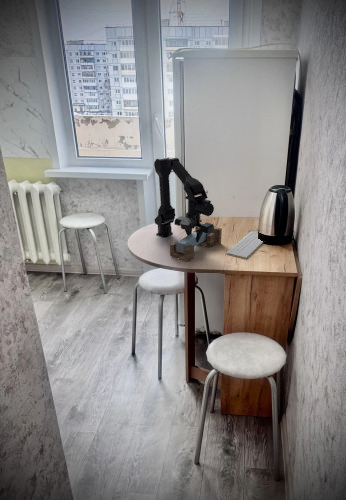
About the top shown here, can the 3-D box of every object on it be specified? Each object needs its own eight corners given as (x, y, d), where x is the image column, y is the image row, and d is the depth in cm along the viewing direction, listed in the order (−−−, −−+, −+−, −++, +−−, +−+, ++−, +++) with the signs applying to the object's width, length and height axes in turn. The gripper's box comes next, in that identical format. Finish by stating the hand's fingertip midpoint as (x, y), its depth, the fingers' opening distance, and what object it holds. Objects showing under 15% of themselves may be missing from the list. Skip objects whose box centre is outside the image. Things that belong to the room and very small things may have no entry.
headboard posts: (166, 254, 180) (166, 239, 176) (197, 237, 199) (197, 222, 195) (191, 263, 172) (191, 246, 169) (221, 243, 191) (221, 228, 188)
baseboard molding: (222, 254, 182) (245, 260, 176) (222, 248, 180) (246, 254, 175) (247, 232, 205) (269, 237, 199) (248, 227, 204) (270, 232, 198)
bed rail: (176, 250, 177) (176, 242, 175) (202, 235, 193) (202, 227, 191) (183, 253, 174) (183, 244, 172) (209, 237, 190) (209, 229, 188)
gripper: (167, 210, 175) (167, 242, 182) (201, 219, 165) (200, 252, 172) (181, 204, 184) (181, 234, 190) (215, 212, 173) (213, 243, 180)
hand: (193, 241), depth 183 cm, fingers closed on bed rail, 4 cm apart
